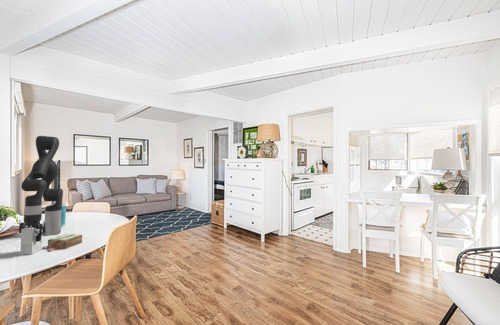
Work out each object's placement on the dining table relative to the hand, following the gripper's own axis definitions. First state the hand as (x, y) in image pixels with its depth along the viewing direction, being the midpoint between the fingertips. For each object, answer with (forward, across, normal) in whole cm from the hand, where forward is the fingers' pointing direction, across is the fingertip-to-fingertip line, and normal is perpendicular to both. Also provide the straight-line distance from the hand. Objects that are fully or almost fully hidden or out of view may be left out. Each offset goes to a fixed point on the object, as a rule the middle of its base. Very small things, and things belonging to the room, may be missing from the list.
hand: (31, 240), depth 130 cm
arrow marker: (+7, +9, +4) cm, 12 cm away
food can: (+6, -34, +48) cm, 59 cm away
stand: (+6, +9, +13) cm, 17 cm away
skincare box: (+7, 0, 0) cm, 7 cm away
